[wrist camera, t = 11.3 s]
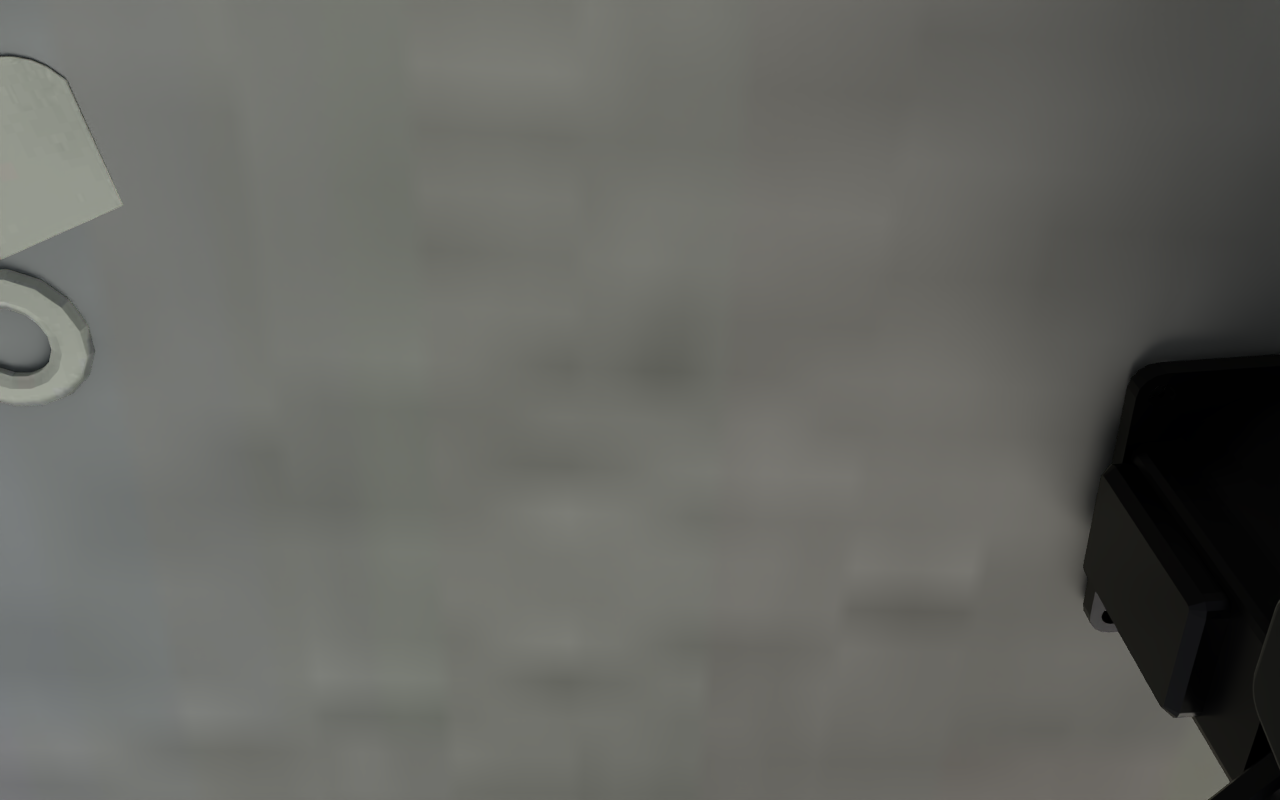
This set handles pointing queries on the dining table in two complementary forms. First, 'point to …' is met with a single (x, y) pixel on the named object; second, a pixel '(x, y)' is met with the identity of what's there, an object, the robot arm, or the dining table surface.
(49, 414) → the dining table surface
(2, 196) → the mounting bracket
